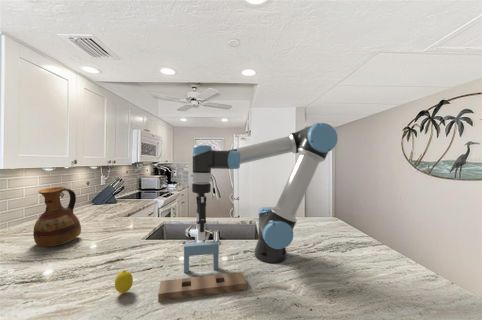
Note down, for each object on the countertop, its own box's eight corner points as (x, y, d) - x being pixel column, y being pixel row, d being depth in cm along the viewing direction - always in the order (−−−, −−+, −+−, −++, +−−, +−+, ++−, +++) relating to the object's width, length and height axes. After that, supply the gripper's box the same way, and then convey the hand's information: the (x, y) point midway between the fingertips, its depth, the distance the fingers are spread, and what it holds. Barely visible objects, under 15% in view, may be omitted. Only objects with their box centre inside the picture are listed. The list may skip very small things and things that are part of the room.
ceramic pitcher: (25, 246, 121) (24, 188, 120) (66, 233, 139) (66, 183, 139) (48, 252, 113) (47, 190, 113) (89, 238, 132) (88, 185, 131)
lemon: (119, 289, 84) (118, 267, 84) (135, 288, 84) (135, 266, 84) (111, 298, 78) (111, 275, 78) (129, 298, 79) (129, 274, 78)
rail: (241, 278, 92) (241, 272, 92) (246, 290, 84) (247, 283, 84) (160, 287, 85) (160, 280, 85) (158, 301, 77) (158, 293, 77)
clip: (217, 266, 101) (217, 241, 101) (218, 270, 98) (218, 243, 98) (184, 269, 98) (184, 243, 98) (183, 273, 95) (184, 246, 95)
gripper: (191, 179, 108) (190, 225, 109) (193, 187, 84) (192, 246, 85) (208, 179, 110) (207, 224, 111) (214, 187, 86) (212, 244, 86)
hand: (200, 233), depth 98 cm, fingers open, 13 cm apart
